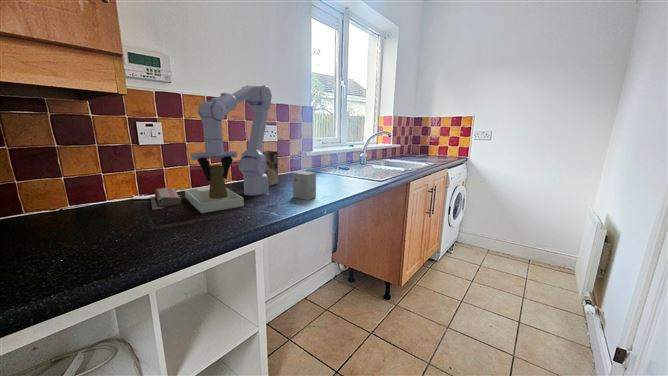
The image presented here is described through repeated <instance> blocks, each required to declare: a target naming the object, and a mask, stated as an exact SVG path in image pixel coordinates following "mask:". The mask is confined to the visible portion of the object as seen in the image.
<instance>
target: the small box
mask: <svg viewBox="0 0 668 376" xmlns="http://www.w3.org/2000/svg"><path fill="white" fill-rule="evenodd" d="M292 197H293V198H295V199H301V200H303V201H304V200H305V201H309V200H310V201H311V200H313V199H315V198H316V197H317V172H314V171H313V172H312V171H305V170H298V171H293V172H292Z"/></svg>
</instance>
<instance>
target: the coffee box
mask: <svg viewBox="0 0 668 376" xmlns="http://www.w3.org/2000/svg"><path fill="white" fill-rule="evenodd" d="M261 152H262V153H263V154H264V156H265V157H266V170H265V172H264V173H265V174H266V175H267V177H268V183H269V186H270V187H271V186H274V185H277V184H279V162H278V161H279V158H278V151H277V150H276V151H274V150H261ZM256 159H258V158H256Z"/></svg>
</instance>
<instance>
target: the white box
mask: <svg viewBox="0 0 668 376" xmlns="http://www.w3.org/2000/svg"><path fill="white" fill-rule="evenodd" d="M194 189H195V191H196V199H198V200H199V201H200V202H205V201H211V200H218V199H210V198H209V190H210V185H209V186H201V187H195V188H194ZM220 199H223V198H220Z"/></svg>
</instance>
